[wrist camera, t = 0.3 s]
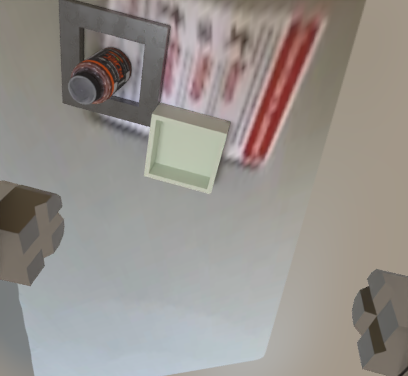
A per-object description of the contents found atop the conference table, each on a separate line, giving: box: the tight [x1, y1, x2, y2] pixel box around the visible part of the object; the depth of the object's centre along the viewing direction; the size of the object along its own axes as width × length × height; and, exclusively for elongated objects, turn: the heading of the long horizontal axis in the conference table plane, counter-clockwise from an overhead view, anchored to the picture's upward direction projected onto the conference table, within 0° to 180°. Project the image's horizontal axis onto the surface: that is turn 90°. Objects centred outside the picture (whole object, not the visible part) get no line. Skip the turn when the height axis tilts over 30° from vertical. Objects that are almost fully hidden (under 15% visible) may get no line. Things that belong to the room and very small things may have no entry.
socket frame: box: [59, 0, 170, 127], centre depth 55 cm, size 16×16×2 cm
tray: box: [144, 103, 230, 194], centre depth 60 cm, size 12×12×4 cm
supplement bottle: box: [68, 48, 131, 105], centre depth 51 cm, size 6×6×11 cm
